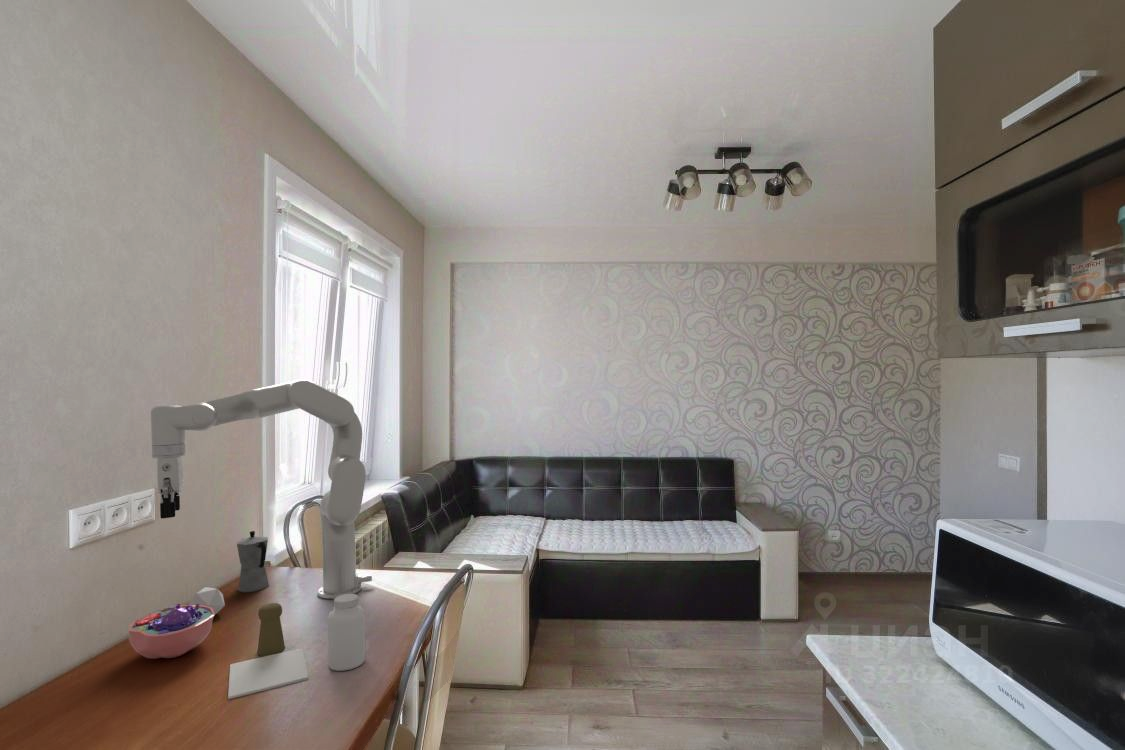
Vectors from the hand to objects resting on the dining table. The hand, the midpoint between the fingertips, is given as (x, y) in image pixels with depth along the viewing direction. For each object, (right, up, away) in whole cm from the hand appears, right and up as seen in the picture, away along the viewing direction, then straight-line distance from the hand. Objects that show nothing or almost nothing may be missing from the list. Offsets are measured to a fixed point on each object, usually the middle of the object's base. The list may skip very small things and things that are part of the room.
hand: (170, 514), depth 155 cm
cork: (+36, -29, -16) cm, 49 cm away
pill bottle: (+57, -29, -24) cm, 68 cm away
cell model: (+12, -30, -16) cm, 36 cm away
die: (+7, -30, +5) cm, 32 cm away
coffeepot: (+8, -31, +28) cm, 42 cm away
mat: (+41, -29, -27) cm, 57 cm away
